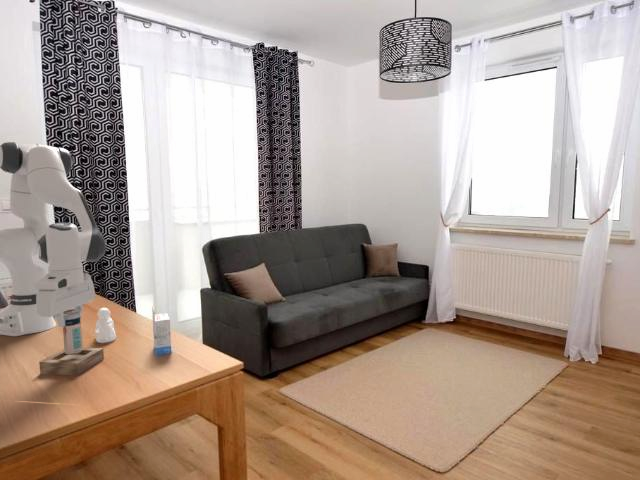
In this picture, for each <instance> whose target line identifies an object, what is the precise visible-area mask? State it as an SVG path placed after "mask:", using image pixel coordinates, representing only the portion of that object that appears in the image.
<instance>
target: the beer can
mask: <svg viewBox="0 0 640 480" xmlns="http://www.w3.org/2000/svg"><path fill="white" fill-rule="evenodd" d="M63 318H64V319H65V320H67V325H66V326H64V327H62V334H63V336H62V338H63V345H64V348H63V349H65V354H68V355H74V354H78V353H80V352H81V351H82V350H83V348H84V346H83V336H82V335H83V334H82V321H81V319H80V315H79V314H78V312H75V311H74V312H73V311H72V312H71V311H70V312H67V313H64V315H63Z"/></svg>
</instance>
